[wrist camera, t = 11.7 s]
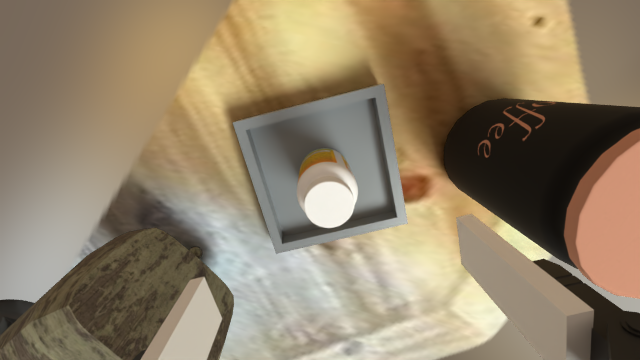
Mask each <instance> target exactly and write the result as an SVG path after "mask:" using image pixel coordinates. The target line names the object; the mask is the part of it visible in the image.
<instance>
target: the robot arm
mask: <svg viewBox="0 0 640 360" xmlns="http://www.w3.org/2000/svg"><path fill="white" fill-rule="evenodd" d="M456 219H457V228H458V237H459V245H460V254H461V263H462V265H463V266H464V267H465V269H466V270H467V271H468V272H469V273H470V274H471V276H472V277H473V278H474V279H475V280H476V281H477V283H478V284H479V285H480V286H481V287H482V288H483V290H484V291H485V292H486V293H487V294H488V295H489V297H490V298H491V299H492V300H493V301H494V302H495V304H496V305H497V306H498V307H499V308H500V309H501V311H502V312H503V313H504V314H505V315H506V316H507V318H508V319H509V320H510V321H511V322H512V323H513V325H514V326H515V327H516V328H517V329H518V330H519V332H520V333H521V334H522V335H523V336H524V337H525V339H526V340H527V341H528V342H529V343H530V344H531V346H532V347H533V348H534V349H535V350H536V351H537V352H538V354H539V355H540V356H541V357H542V358H543V360H640V313H637V312H629V311H623V310H622V309H620V308H619V307H618V306H616V305H615V304H613V303H612V302H610V301H609V300H608V299H606V298H605V297H603V296H602V295H601V294H599V293H598V292H596V291H595V290H594V289H592V288H591V287H589V286H588V285H587V284H585V283H583V282H582V281H581V280H579V279H578V278H577V277H575V276H573V275H572V274H571V273H570V272H568V271H567V270H566V269H564V268H563V267H561V266H560V265H558V264H555V263H553V262H550V261H548V260H545V259H541V260H537V261H531V260H530V259H528V258H527V257H526V256H525V255H523V254H522V253H521V252H519V251H518V250H517V249H516V248H514V247H513V246H512V245H511V244H509V243H508V242H507V241H505V240H504V239H503V238H502V237H500V236H499V235H498V234H497V233H495V232H494V231H493V230H491V229H490V228H489V227H488V226H486V225H485V224H484V223H483V222H481V221H480V220H479V219H477V218H476V217H475V216H474V215H472V214H469V215H465V216H461V217H456ZM34 304H35V303H32V302H28V301H23V300H0V335H1V334H2V333H3V332H4V331H5V330H6V329H8V328H9V327H10V326H11V325H12V324H13V323H14V322H15V321H16V320H17V319H18V318H19V317H21V316H22V315H23V314H24V313H25V312H26V311H27V310H28V309H29V308H30V307H31V306H32V305H34ZM221 321H222V317H221V315H220V312H219V310H218V308H217V305H216V303H215V301H214V298H213V296H212V294H211V291H210V289H209V287H208V284H207V282H206V280H205V277H200V278H196V279H192V280H190V281H189V282H188V284H187V286H186V287H185V289H184V290H183V292H182V294H181V295H180V297H179V298H178V300H177V302H176V303H175V305H174V307H173V308H172V310H171V311H170V313H169V315H168V316H167V318H166V319H165V321H164V323H163V324H162V326H161V327H160V329H159V331H158V332H157V334H156V336H155V337H154V339H153V340H152V342H151V344H150V345H149V347H148V348H147V349H146V350H142V351H141V352H140V353H139V354H138V355H137V356H136V357H135V358H134V359H133V360H207V358H208V355H209V352H210V350H211V347H212V344H213V342H214V339H215V336H216V334H217V331H218V328H219V326H220V323H221Z"/></svg>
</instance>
